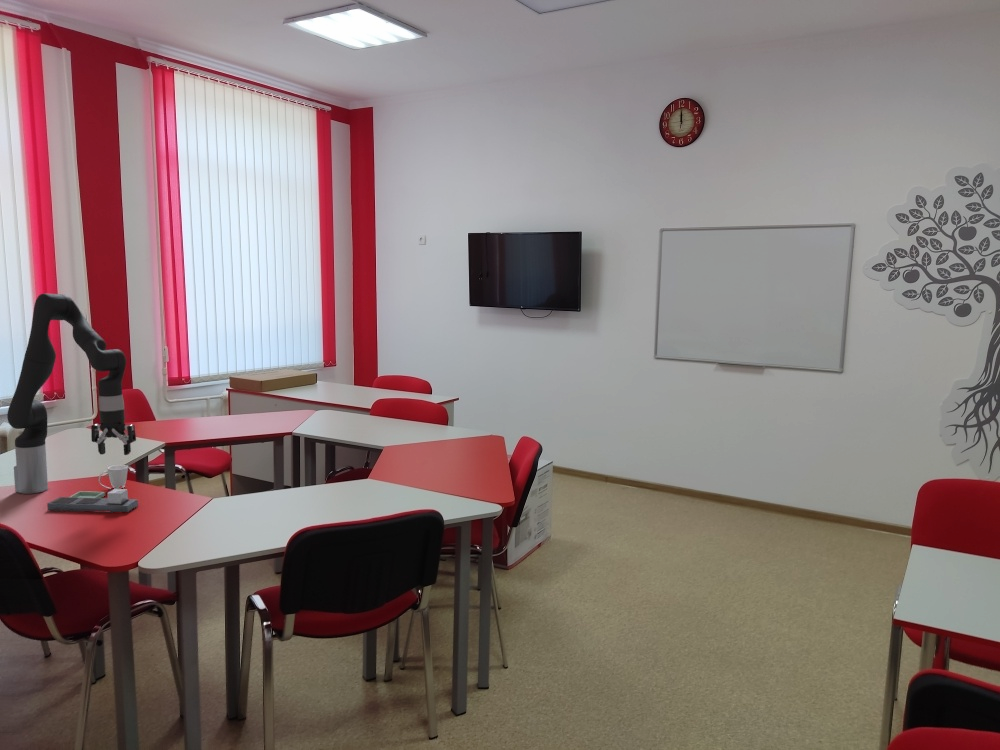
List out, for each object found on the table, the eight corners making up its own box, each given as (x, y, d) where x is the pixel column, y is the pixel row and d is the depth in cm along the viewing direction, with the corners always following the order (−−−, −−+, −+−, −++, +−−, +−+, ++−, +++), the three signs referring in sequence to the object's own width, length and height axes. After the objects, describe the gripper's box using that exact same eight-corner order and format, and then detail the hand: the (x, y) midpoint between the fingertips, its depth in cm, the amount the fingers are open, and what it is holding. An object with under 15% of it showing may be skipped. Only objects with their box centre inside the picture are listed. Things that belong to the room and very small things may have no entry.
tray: (65, 503, 244) (65, 499, 243) (80, 495, 253) (80, 491, 252) (91, 504, 244) (91, 499, 244) (105, 496, 253) (105, 491, 253)
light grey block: (108, 511, 238) (107, 493, 237) (115, 506, 242) (114, 488, 241) (121, 511, 238) (120, 493, 237) (128, 507, 242) (127, 489, 242)
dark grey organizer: (47, 510, 236) (47, 503, 236) (60, 503, 243) (59, 496, 243) (127, 512, 237) (127, 505, 236) (137, 506, 244) (137, 499, 243)
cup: (131, 488, 262) (130, 467, 261) (101, 493, 256) (100, 472, 255) (126, 483, 268) (125, 463, 266) (97, 488, 261) (96, 467, 260)
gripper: (84, 409, 233) (87, 456, 236) (125, 410, 233) (128, 457, 235) (98, 405, 241) (101, 451, 243) (138, 406, 240) (141, 452, 242)
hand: (114, 454), depth 239 cm, fingers open, 8 cm apart
